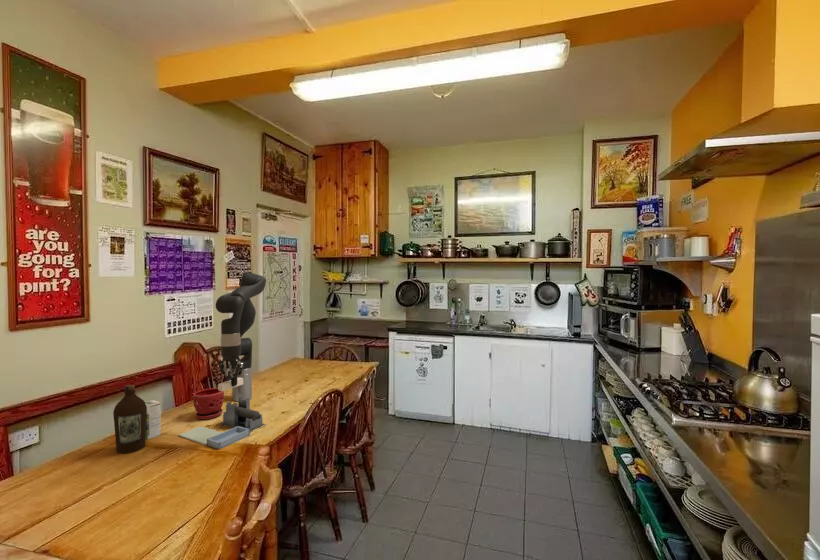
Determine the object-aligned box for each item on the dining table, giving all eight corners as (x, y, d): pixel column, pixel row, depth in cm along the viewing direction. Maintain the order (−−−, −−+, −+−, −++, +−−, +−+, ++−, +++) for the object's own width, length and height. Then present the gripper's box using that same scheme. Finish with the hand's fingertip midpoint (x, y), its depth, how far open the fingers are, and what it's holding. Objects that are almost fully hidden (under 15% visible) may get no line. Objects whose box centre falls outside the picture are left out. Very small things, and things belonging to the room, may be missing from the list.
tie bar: (218, 390, 156) (218, 384, 155) (239, 383, 164) (238, 377, 164) (222, 391, 154) (222, 384, 154) (243, 384, 163) (243, 378, 163)
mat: (178, 436, 163) (178, 434, 163) (200, 427, 172) (200, 426, 172) (205, 445, 154) (205, 443, 154) (227, 435, 163) (227, 434, 163)
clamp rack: (220, 424, 175) (220, 401, 175) (236, 418, 182) (236, 395, 182) (249, 432, 166) (249, 408, 166) (264, 425, 174) (264, 402, 173)
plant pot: (229, 411, 191) (229, 387, 191) (213, 421, 178) (213, 396, 178) (204, 410, 193) (204, 386, 192) (187, 420, 180) (186, 395, 179)
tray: (206, 445, 154) (206, 439, 154) (238, 431, 167) (238, 426, 167) (219, 449, 151) (219, 443, 151) (250, 435, 164) (250, 429, 164)
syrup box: (139, 437, 162) (138, 403, 161) (154, 432, 167) (153, 399, 166) (146, 440, 159) (146, 405, 159) (161, 434, 164) (161, 401, 164)
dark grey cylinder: (226, 413, 177) (225, 406, 177) (232, 411, 180) (232, 403, 180) (253, 421, 168) (252, 412, 168) (259, 418, 172) (259, 410, 171)
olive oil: (115, 446, 153) (114, 384, 153) (147, 440, 159) (146, 380, 158) (112, 457, 144) (111, 391, 144) (147, 450, 150) (145, 386, 150)
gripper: (211, 344, 159) (212, 386, 159) (234, 346, 153) (235, 389, 153) (227, 341, 166) (228, 381, 166) (250, 343, 160) (250, 385, 160)
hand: (231, 385), depth 160 cm, fingers closed on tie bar, 2 cm apart
